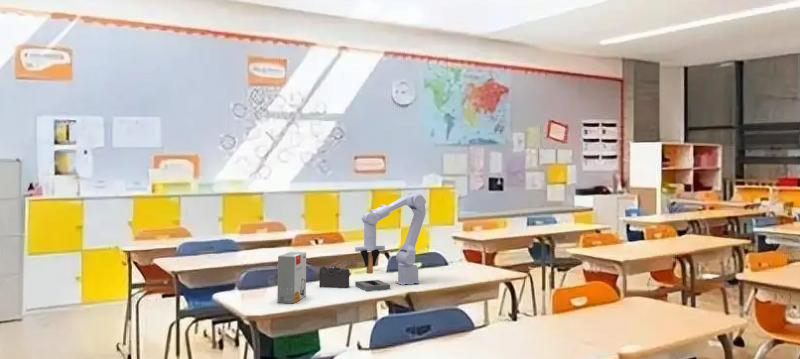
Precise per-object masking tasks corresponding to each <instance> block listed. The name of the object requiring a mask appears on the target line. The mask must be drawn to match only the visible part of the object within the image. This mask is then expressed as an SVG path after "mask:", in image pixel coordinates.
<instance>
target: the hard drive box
mask: <svg viewBox="0 0 800 359" xmlns="http://www.w3.org/2000/svg"><path fill="white" fill-rule="evenodd" d="M276 297H277V301H276V302H277V303H283V304H295V303H297V302H299V301H301V300H302V299H304V298H306V297H307V252H304V251H289V252H287V253H284V254H280V255H278V256H277V295H276Z"/></svg>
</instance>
